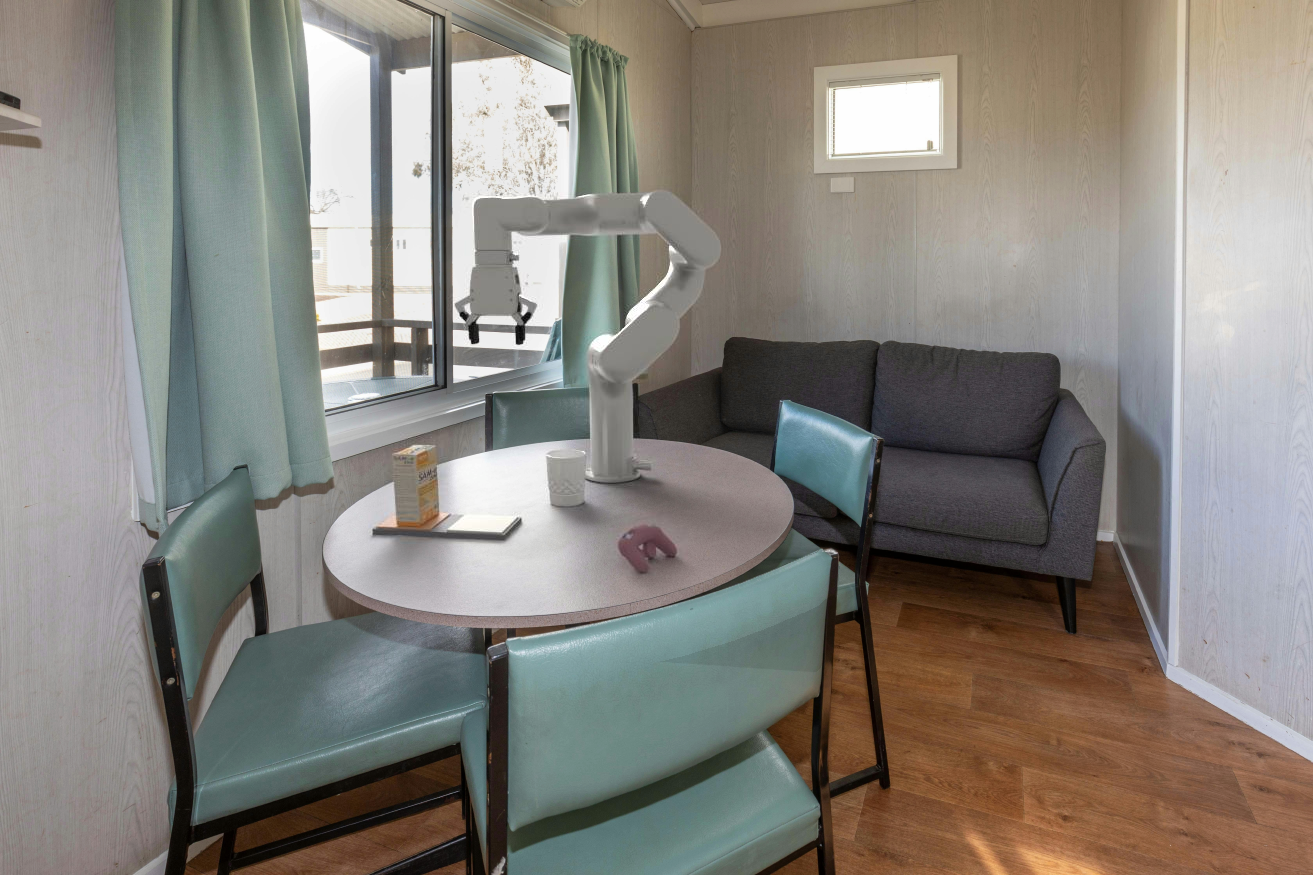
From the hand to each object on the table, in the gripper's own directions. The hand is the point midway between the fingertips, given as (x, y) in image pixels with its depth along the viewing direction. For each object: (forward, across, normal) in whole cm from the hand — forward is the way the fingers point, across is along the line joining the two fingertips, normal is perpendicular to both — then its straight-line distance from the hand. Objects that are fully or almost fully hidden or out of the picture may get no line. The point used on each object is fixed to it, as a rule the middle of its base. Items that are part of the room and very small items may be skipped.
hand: (497, 344), depth 167 cm
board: (+30, 0, +30) cm, 43 cm away
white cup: (+31, -17, +11) cm, 37 cm away
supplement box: (+29, +6, +30) cm, 42 cm away
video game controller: (+31, -38, +42) cm, 64 cm away
